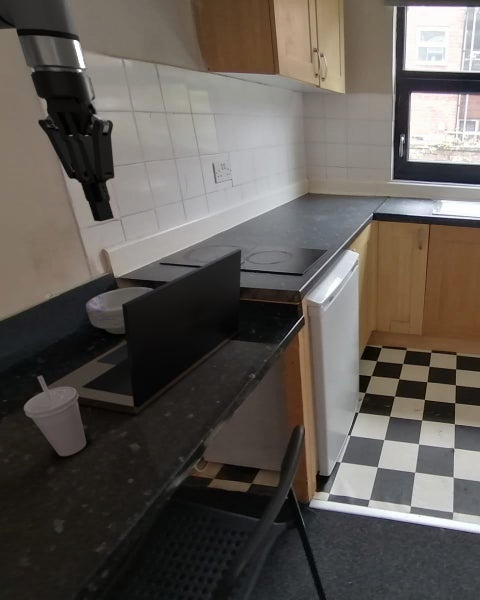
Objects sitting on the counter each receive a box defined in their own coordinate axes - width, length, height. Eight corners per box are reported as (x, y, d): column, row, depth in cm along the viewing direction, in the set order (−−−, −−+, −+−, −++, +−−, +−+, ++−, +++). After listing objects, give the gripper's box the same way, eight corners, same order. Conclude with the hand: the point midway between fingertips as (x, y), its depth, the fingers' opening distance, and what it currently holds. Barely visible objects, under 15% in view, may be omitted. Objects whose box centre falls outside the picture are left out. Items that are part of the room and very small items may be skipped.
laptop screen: (121, 304, 62) (126, 306, 62) (237, 248, 88) (241, 249, 88) (133, 406, 71) (137, 408, 71) (235, 328, 98) (238, 329, 98)
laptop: (45, 397, 77) (41, 389, 76) (164, 325, 103) (162, 319, 102) (136, 414, 72) (133, 405, 71) (236, 334, 98) (235, 327, 98)
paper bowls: (176, 321, 105) (168, 293, 102) (112, 346, 94) (101, 316, 90) (146, 308, 113) (139, 281, 110) (84, 329, 101) (73, 300, 98)
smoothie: (47, 469, 61) (9, 394, 55) (46, 445, 65) (11, 373, 59) (98, 449, 64) (68, 376, 59) (94, 427, 69) (66, 358, 63)
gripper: (114, 73, 66) (150, 217, 75) (51, 74, 68) (94, 213, 78) (69, 68, 59) (115, 226, 69) (2, 70, 62) (55, 222, 71)
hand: (104, 219), depth 73 cm, fingers closed
